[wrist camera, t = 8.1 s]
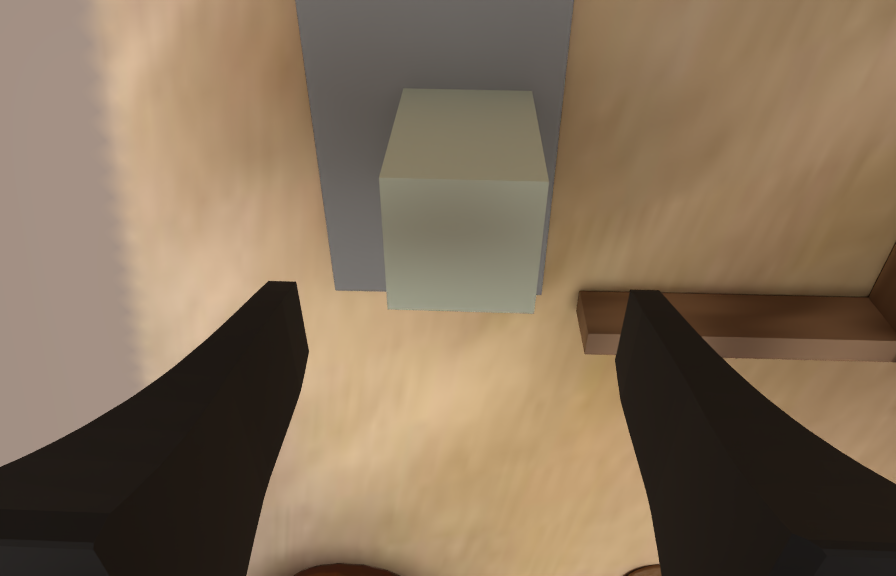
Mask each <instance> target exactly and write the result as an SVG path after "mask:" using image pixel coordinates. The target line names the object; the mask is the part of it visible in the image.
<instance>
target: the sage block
mask: <svg viewBox="0 0 896 576" xmlns="http://www.w3.org/2000/svg"><path fill="white" fill-rule="evenodd" d="M379 186H380V201H381V217H382V232H383V247H384V262H385V277H386V292H387V307H388V309H395V310H428V311H461V312H495V313H528V314H534V309H535V300H536V291H537V282H538V274H539V265H540V256H541V248H542V239H543V230H544V222H545V213H546V204H547V195H548V187H549V179H548V173H547V168H546V163H545V157H544V152H543V147H542V141H541V136H540V131H539V125H538V120H537V115H536V109H535V104H534V99H533V93H532V91H510V90H461V89H412V88H403V92H402V95H401V99H400V103H399V106H398V110H397V113H396V117H395V121H394V124H393V128H392V132H391V135H390V139H389V143H388V146H387V150H386V154H385V157H384V161H383V165H382V168H381V172H380V176H379Z"/></svg>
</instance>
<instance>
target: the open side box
mask: <svg viewBox="0 0 896 576" xmlns="http://www.w3.org/2000/svg"><path fill="white" fill-rule="evenodd" d="M629 293H630V292H595V291H579V298H578V304H577V310H576V312H577V317H578V322H579V327H580V332H581V337H582V343H583V348H584V353H585V354H597V355H616V353H617V349H618V344H619V340H620V335H621V330H622V326H623V321H624V316H625V312H626V307H627V303H628V298H629ZM662 294H663V295H664V296H665V297H666V298H667V299H668V301H669V302H670V303H671V304H672V305H673V306H674V307H675V308H676V310H677V311H678V312H679V313H680V314H681V315H682V316H683V317H684V318H685V319H686V321H687V322H688V323H689V324H690V325H691V326H692V327H693V328H694V329H695V330H696V332H697V333H698V334H699V335H700V336H701V337H702V338H703V339H704V340H705V341H706V342H707V343H708V344H709V345H710V346H711V347H712V348H713V349H714V350H715V351H716V352H717V353H718V354H719V355H720V356H721V357H722V358H754V359H794V360H833V361H872V362H896V244H895V246H894V248H893V250H892V252H891V254H890V256H889V258H888V260H887V262H886V264H885V266H884V268H883V270H882V272H881V274H880V276H879V277H878V279H877V281H876V283H875V285H874V287H873V289H872V291H871V293H870V295H869V297H868V298H866V297H821V296H776V295H731V294H685V293H662Z"/></svg>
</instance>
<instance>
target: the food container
mask: <svg viewBox="0 0 896 576" xmlns="http://www.w3.org/2000/svg"><path fill="white" fill-rule="evenodd" d="M294 576H399V575H397V574H395V573H393V572H390V571H388V570H384V569H380V568H375V567H371V566H367V565H359V564H342V563H336V564H327V565H319V566H315V567H311V568H308V569H305V570H303V571H301V572H299V573H297V574H295V575H294Z"/></svg>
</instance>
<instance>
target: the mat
mask: <svg viewBox="0 0 896 576" xmlns="http://www.w3.org/2000/svg"><path fill="white" fill-rule="evenodd" d="M295 2H296V9H297V16H298V24H299V31H300V38H301V45H302V52H303V60H304V67H305V74H306V81H307V88H308V96H309V103H310V110H311V117H312V124H313V132H314V139H315V146H316V153H317V160H318V168H319V175H320V182H321V189H322V196H323V204H324V211H325V218H326V225H327V232H328V240H329V247H330V254H331V261H332V268H333V276H334V283H335V290H341V291H385V292H386V277H385V262H384V247H383V232H382V217H381V201H380V186H379V176H380V172H381V168H382V165H383V161H384V157H385V154H386V150H387V146H388V143H389V139H390V135H391V132H392V128H393V124H394V121H395V117H396V113H397V110H398V106H399V103H400V99H401V95H402V92H403V88H412V89H461V90H510V91H532V93H533V99H534V104H535V109H536V115H537V120H538V125H539V131H540V136H541V141H542V147H543V152H544V157H545V163H546V168H547V173H548V179H549V187H548V195H547V204H546V213H545V222H544V230H543V239H542V248H541V256H540V265H539V274H538V282H537V291H536V295H541V294H542V285H543V276H544V267H545V258H546V249H547V240H548V231H549V221H550V212H551V203H552V194H553V185H554V176H555V167H556V158H557V149H558V140H559V131H560V122H561V113H562V104H563V95H564V86H565V76H566V67H567V58H568V49H569V40H570V31H571V22H572V13H573V4H574V0H295Z"/></svg>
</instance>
